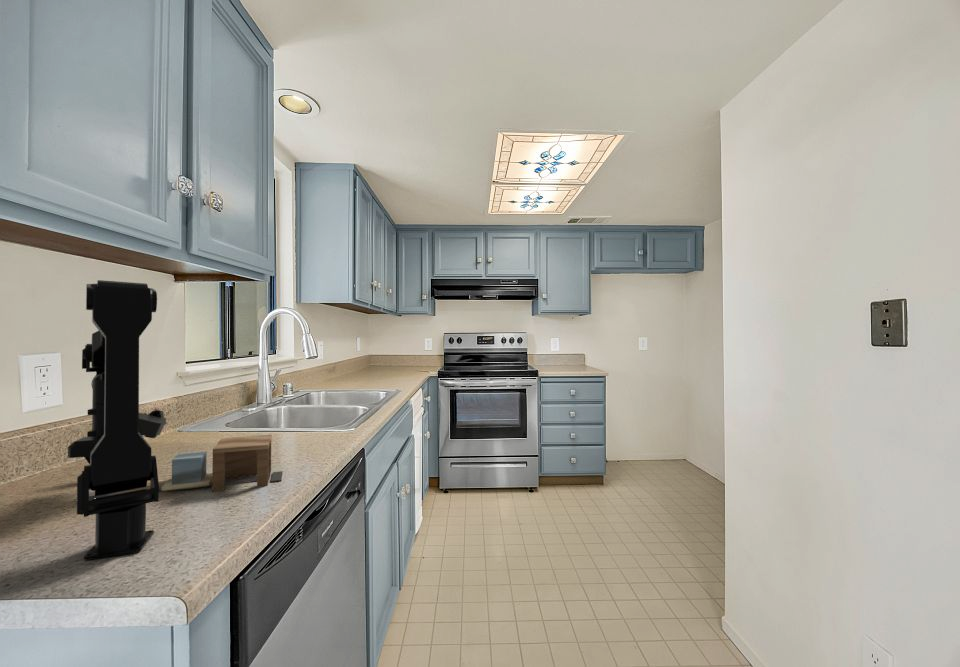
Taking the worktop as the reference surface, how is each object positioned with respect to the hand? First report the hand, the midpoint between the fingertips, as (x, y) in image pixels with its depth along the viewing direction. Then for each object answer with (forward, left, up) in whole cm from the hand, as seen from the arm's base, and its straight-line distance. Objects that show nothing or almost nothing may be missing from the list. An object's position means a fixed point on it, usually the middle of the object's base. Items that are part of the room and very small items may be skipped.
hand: (110, 481), depth 83 cm
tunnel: (0, -23, -3) cm, 23 cm away
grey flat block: (0, -29, -3) cm, 30 cm away
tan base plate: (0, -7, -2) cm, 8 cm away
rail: (0, -12, -3) cm, 12 cm away
